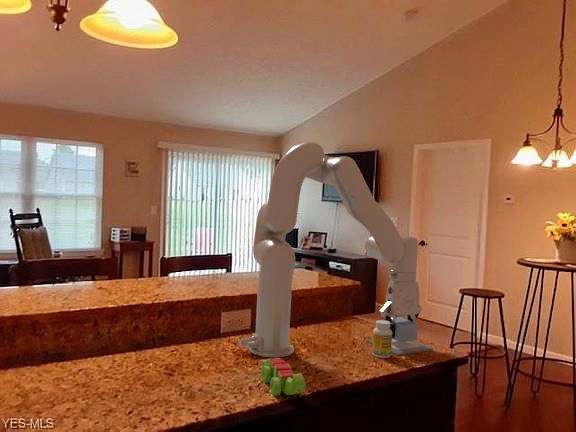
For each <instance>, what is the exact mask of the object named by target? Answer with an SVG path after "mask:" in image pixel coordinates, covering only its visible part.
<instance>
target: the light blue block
mask: <svg viewBox="0 0 576 432" xmlns="http://www.w3.org/2000/svg"><path fill="white" fill-rule="evenodd" d="M394 324H395V337H394V338H392V339H394V340H396V341H398V342H405V341H417V340H418V328H419V327H418V326H419V324H418V323H417V322H412V321H409V320H408V319H407V318H405V317H403V316H397V317H396V320H395V322H394Z"/></svg>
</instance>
